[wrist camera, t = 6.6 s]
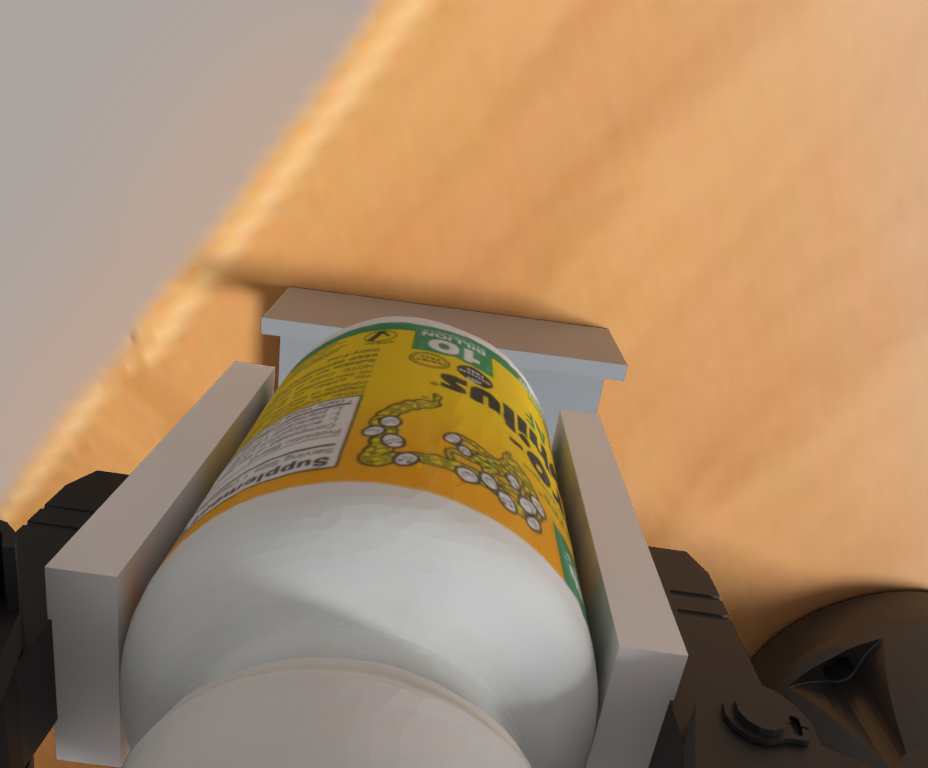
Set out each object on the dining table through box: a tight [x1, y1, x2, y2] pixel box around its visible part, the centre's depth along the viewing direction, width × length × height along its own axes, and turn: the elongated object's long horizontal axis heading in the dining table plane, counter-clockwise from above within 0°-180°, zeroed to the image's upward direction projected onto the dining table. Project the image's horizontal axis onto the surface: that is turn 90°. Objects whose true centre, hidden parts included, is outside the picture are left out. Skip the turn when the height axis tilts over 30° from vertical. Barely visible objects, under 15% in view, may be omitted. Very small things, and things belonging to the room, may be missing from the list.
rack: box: [261, 287, 628, 447], centre depth 32 cm, size 13×22×4 cm, turn 172°
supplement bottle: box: [119, 316, 598, 768], centre depth 10 cm, size 5×5×10 cm
